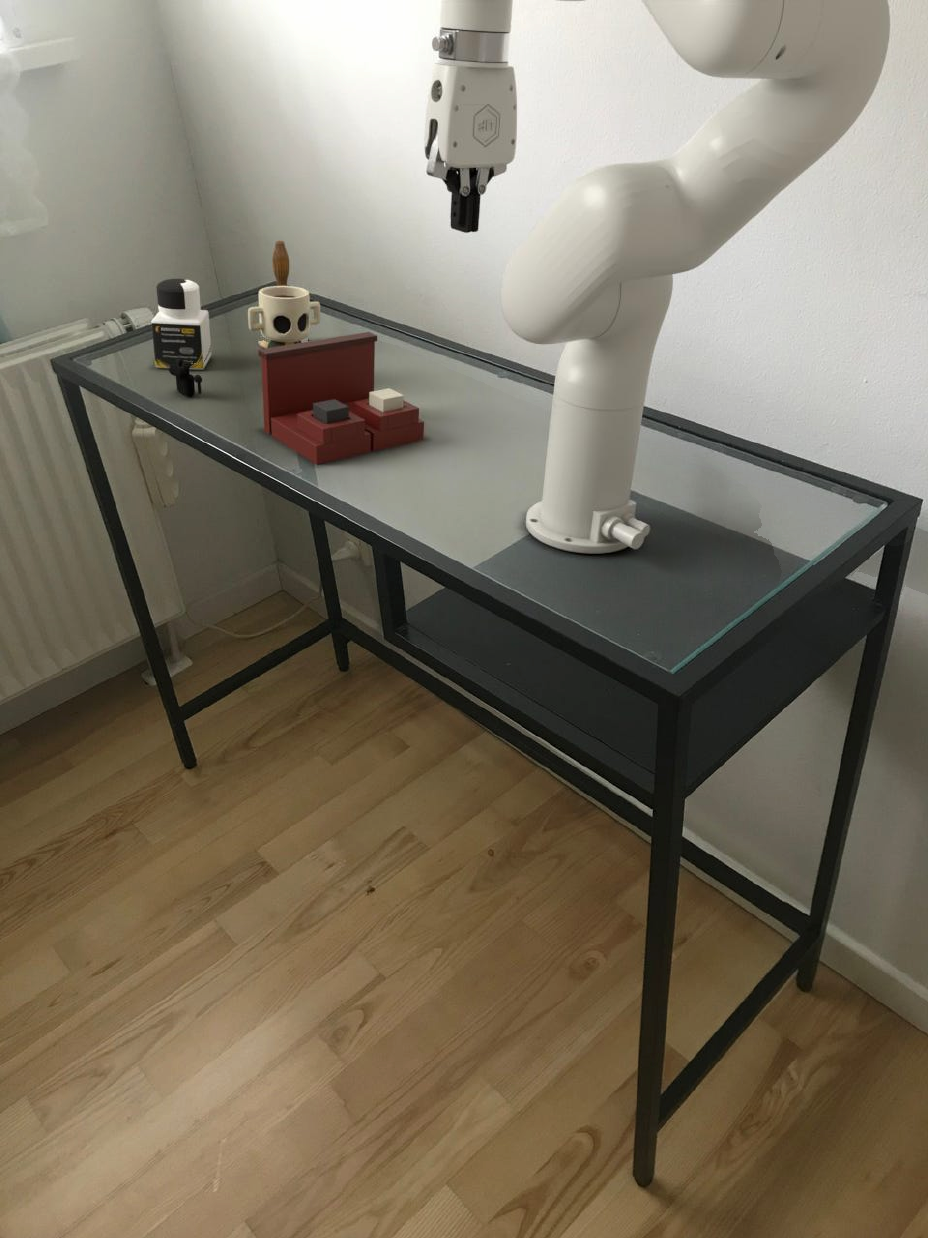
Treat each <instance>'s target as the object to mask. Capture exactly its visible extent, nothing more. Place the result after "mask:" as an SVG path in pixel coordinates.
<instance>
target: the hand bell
mask: <svg viewBox="0 0 928 1238" xmlns="http://www.w3.org/2000/svg"><path fill="white" fill-rule="evenodd" d="M288 253H289V252H288V251H287V248H286V244H285V241H283V240H276V241H275V245H274V250H273V253H272V270H273V275H274V277H275V281H276V286H288V279H289V275H290V258H289V254H288ZM268 343H269V342H266V341H264V340H263V341H259V340H258V345H259V347H261V348H262V349H266V348H267V346H268Z"/></svg>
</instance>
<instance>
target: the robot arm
mask: <svg viewBox="0 0 928 1238" xmlns="http://www.w3.org/2000/svg"><path fill="white" fill-rule="evenodd" d="M556 1H558V2H582V1H585V0H556ZM513 2H514V0H440V13H439V14H440V15H439V35H438V36H434V37H433V38H432V41H431V46H432V47H431V48H432V50H433V51H434V52H438V62H434V65H433V68H432V72H431V78H430V82H429V87H428V94H427V101H426V110H425V122H424V139H423V140H424V141H423V142H424V155H425V158H426V160H428V162H427V165H426V170H425V171H426V174H427V176H430V177H433V178H437V179H441V180H442V181H443V183H444V184H445V186H446V190H447V191H448V193H451V197H450V198H451V199H450V224H449V225H450V228H451V229H452V230H455V231H458V232H461V233H465V234H468V233H471V232H472V233H478V231H479V227H480V226H479V225H480V213H481V212H480V210H481V196H482V195H485V193H486V191H487V186H488V185H489V183H490V182H491V180H492V179H493V178H494V177H495V178H496V177H497V176H500V175H502V174H505V173H506V172H507V169H508V167H507V165H509V164H511V163H512V162H513V161H514V159H515V158H516V151H517V139H518V138H517V136H518V95H517V82H516V74H515V68H514V66H513V65H509V60H510V58H509V57H510V46H511V31H512V30H511V29H512V19H513V18H512V17H513ZM641 2H642V4H643V5H644V6H645V8H646V9H647V11H648V12H649V14H650V15H651V17H652V18H653V20H654V22H655V23H656V25H657V26H658V28H659V29H660V31H661V32H662V34H663V36H664V37H665V38H666V40H667V42H668V44H669V45H670V46H671V48H672V49H673V50H674V51H675V53H676V55H678V56H679V58H680V59H681V60H682V61H683V62H685V63H686V64H687V65H688V66H690V67H691V68H692V69H693V70H695V71H697V72H699V73H701V74H703V75H706V76H708V77H712V78H719V79H744V80H745V79H748V80H749V79H750V80H751V79H754V80H759V81H758V82H756V83H755V84H754V85H753V86H750V88H747V89H746V90H745V91H744V92H742V93H740V94H739V95H737V96H735V97H733V98H732V99H731V100H729V101H728V102H727V103H725V104H724V105H723V106H721V107H720V108H719V109H717V110H716V111H715V112H714V113H712V115H710V116H709V117H708V118H707V120H706V121H704V123H703V124H702V125H701V127H699V129H698V130H697V131H696V132H695V134H693V136H692V137H691V138H689V140H687V141H686V142H685V143H684V144H683V145H682V146H681V147H680V148H678V149H677V150H676V151H675V152H673V153H672V154H671V155H668V156H667V157H664V158H661V159H656V160H651V161H641V162H620V163H612V164H611V163H610V164H606V165H601V166H598V167H596V168H593V169H591V170H588V171H587V172H585V173H583V174H582V175H580V176H578V177H577V178H576V179H575V180H574V181H572V182H571V183H570V184H569V185H568V186H567V187H566V188H565V189H564V191H562V193H561V194H560V195H559V196H558V197H557V199H556V200H554V202H553V203H552V205H551V206H550V207H549V208H548V210H547V211H546V212H545V213H544V214H543V215H542V216H541V218H540V219H538V221H537V222H536V224H535V225H534V226H533V227H532V229H531V230H530V231H529V233H528V234H527V235H526V236H525V237H524V238H523V240H522V241H521V242H520V243H519V245H518V246H517V248H516V249H515V250H514V252H513V253H512V255H511V257H510V258H509V259H508V262H507V264H506V267H505V269H504V272H503V276H502V279H501V284H500V293H499V295H500V296H499V297H500V299H499V300H500V308H501V312H502V316H503V318H504V320H505V322H506V324H507V325H508V327H509V329H510V330H511V331H512V333H514V334H515V335H516V336H517V337H519V338H520V339H522V340H524V341H526V342H528V343H531V344H535V345H555V344H563V343H566V344H565V346H564V348H563V351H562V352H561V354H560V358H559V360H558V364H557V367H556V369H555V370H556V371H555V376H554V383H553V394H552V401H551V402H552V403H551V412H550V423H549V432H548V442H547V451H546V462H545V468H544V469H545V470H544V479H543V489H542V498H541V500H540V501H538V502H536V503H534V504H533V505H531V506H530V507H529V508H528V510H527V512H526V516H525V527H526V529H527V531H528V532H529V533H530V534H531V535H532V537H534V538H535V539H537V540H538V541H540V542H541V543H542V544H544V545H547V546H549V547H553V548H555V549H558V550H562V551H565V552H571V553H575V554H576V553H577V554H589V555H593V554H594V555H597V554H600V555H601V554H610V553H615V552H619V551H621V550H624V549H626V548H628V547H629V548H631V549H633V550H638V549H640V547H642V545H643V544H644V540H645V537H647V536H648V535H649V534H650V531H651V526H650V525H649V524H647V523H646V522H643V521H641V520H638V519H637V518H636V516H635V515H636V510H637V509H636V508H637V502H636V501H635V500H633V499H630V497H631V491H632V485H633V478H634V473H635V467H636V466H635V464H636V460H637V452H638V446H639V439H640V433H641V427H642V419H643V413H644V407H645V401H646V397H647V396H646V395H647V389H648V383H649V376H650V371H651V370H650V369H651V367H652V366H651V365H652V362H653V356H654V352H655V350H656V345H657V342H658V339H659V336H660V332H661V330H662V327H663V325H664V322H665V319H666V316H667V313H668V310H669V307H670V303H671V299H672V294H673V290H674V289H673V285H674V277H673V275H676V274H677V275H678V274H681V273H685V272H689V271H691V270H694V269H696V268H698V267H700V266H701V265H703V264H704V263H705V262H707V261H708V260H709V259H711V257H712V256H713V255H714V254H716V253H717V252H718V251H719V250H720V249H721V248H722V247H723V246H724V245H725V244H726V243H727V242H729V241H730V240H731V239H732V238H733V237H734V236H735V235H736V234H737V233H739V232H740V231H741V230H742V229H743V228H744V227H745V226H747V224H748V223H750V222H751V221H752V220H753V219H754V218H755V217H756V216H757V215H758V214H759V213H760V212H761V211H763V210H764V209H765V208H766V207H767V206H768V205H769V204H770V203H771V202H772V201H773V200H774V199H775V198H776V197H777V196H778V195H779V194H781V192H782V191H784V190H785V189H786V188H787V187H788V186H790V184H792V183H793V182H794V181H795V180H796V179H798V178H799V177H800V176H801V175H802V174H803V173H805V172H806V171H807V170H808V169H809V168H811V166H813V165H814V164H815V163H817V162H818V160H820V159H821V158H822V157H823V156H824V155H825V154H826V153H828V152H829V151H830V150H831V149H832V148H833V147H834V146H835V145H836V144H837V143H838V142H839V141H840V140H841V139H842V138H843V136H845V134H846V133H847V132H848V131H849V130H850V128H851V127H852V126H853V125H854V124H855V122H856V121H857V119H858V118H859V117H860V115H862V113H863V111H864V110H865V108H866V106H867V104H868V103H869V101H870V100H871V97H872V96H873V93H874V92H875V89H876V87H877V85H878V82H879V80H880V77H881V75H882V71H883V69H884V66H885V61H886V58H887V54H888V50H889V49H888V48H889V43H890V34H891V15H890V6H889V1H888V0H641Z"/></svg>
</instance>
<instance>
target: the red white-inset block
mask: <svg viewBox="0 0 928 1238" xmlns="http://www.w3.org/2000/svg"><path fill="white" fill-rule="evenodd" d="M343 404H345V405H346V406H348V407H349V411H350V412H351V413H353V414H355V415H357V416H359V417H360V418H362V419H364V420H365V431H367V432H369V433H370V434H371V451H372V452H377V451H381V450H384V449H389V448H393V447H397V446H401V445H406V444H410V443H415V442H418V441H423V440H424V437H425V421H424V420H423V419H420V408H419V407H417V406H416V405H414V404H412V403H410V402H408V401H406V400H404V406H403V408H400V409H396V410H391V411H386V412H381V411H380V410H378V409H376V408H374V407H372V406H370V405H369V398H366V399H362V400H357V401H352V402H347V403H343Z"/></svg>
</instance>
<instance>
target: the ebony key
mask: <svg viewBox="0 0 928 1238" xmlns="http://www.w3.org/2000/svg"><path fill="white" fill-rule="evenodd" d="M313 417H314V418H316V419H318V420H320V421H321V422H323V423H325V424H326V425H327V424H330V423H335V422H340V421H344V420H349V407H348V406H346V405H345V404H343V403H341V402H339V401H337V400H335V399H333V400H328V401H323V402H318V403H313Z"/></svg>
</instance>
